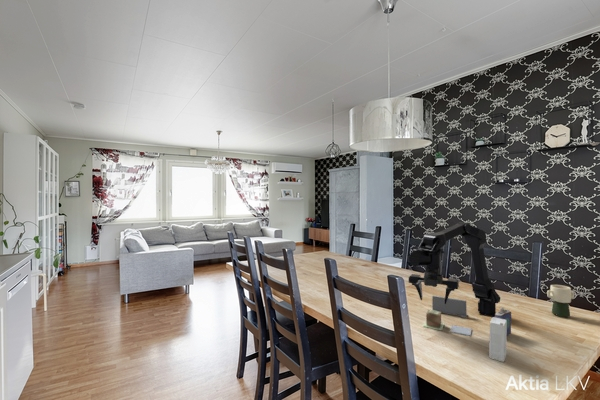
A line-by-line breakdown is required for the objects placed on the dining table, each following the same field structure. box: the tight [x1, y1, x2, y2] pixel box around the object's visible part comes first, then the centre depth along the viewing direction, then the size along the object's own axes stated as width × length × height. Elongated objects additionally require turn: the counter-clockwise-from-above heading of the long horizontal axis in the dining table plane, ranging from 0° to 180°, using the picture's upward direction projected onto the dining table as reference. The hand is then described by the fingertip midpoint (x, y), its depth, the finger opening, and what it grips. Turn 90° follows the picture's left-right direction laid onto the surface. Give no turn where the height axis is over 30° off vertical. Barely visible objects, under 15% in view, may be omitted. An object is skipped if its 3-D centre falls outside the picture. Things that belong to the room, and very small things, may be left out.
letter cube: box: [425, 309, 442, 328], centre depth 125 cm, size 5×5×5 cm
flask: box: [495, 306, 512, 337], centre depth 115 cm, size 9×3×11 cm, turn 121°
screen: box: [431, 295, 468, 319], centre depth 138 cm, size 14×5×7 cm, turn 58°
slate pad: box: [450, 324, 472, 337], centre depth 119 cm, size 7×7×1 cm
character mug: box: [546, 284, 575, 318], centre depth 135 cm, size 11×7×13 cm, turn 83°
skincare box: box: [488, 316, 508, 363], centre depth 100 cm, size 6×4×12 cm
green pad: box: [423, 321, 445, 331], centre depth 125 cm, size 7×7×1 cm
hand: (433, 301), depth 125 cm, fingers open, 9 cm apart
